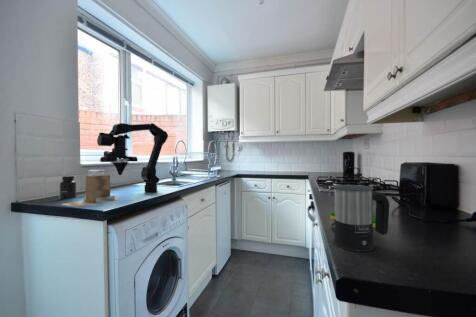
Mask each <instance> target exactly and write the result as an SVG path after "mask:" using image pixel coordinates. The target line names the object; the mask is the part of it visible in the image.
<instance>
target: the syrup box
mask: <svg viewBox="0 0 476 317" xmlns="http://www.w3.org/2000/svg"><path fill="white" fill-rule="evenodd" d="M93 175H105V169H89V170H88V176H93Z"/></svg>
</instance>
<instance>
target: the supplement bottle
mask: <svg viewBox="0 0 476 317" xmlns="http://www.w3.org/2000/svg"><path fill="white" fill-rule="evenodd" d="M61 177H62V178H61V180H62V181H61V182H59V200H66V199H74V198H76V197H77V181H75V176H74V175H63V176H61Z"/></svg>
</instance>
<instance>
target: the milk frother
mask: <svg viewBox="0 0 476 317" xmlns="http://www.w3.org/2000/svg"><path fill="white" fill-rule="evenodd" d="M332 188H334V212H335V220H334V222H333V223H331V225H330V229H331V230H332V232H334V234H333V235H334V236H333V241H332V242H333V243H334V245H336V246H337V247H339V248H341V249H345V250H347V251H353V252H369V251H372V250H374V248H375V245H374V229H375V232H376V233H379V234H380V235H383V236H385V235H388V231H389V220H390V217H389V216H390V202H389V199H388V197H387V196H386V195H385V194H384V193H382V192H379V191H374V189H375V188H374V187H373V186H368V185H360V184H358V185H357V184H336V185H333V187H332ZM373 200H374V201H375V216H376V220H375V227H373V216H374V214H373V211H374V210H373Z"/></svg>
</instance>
